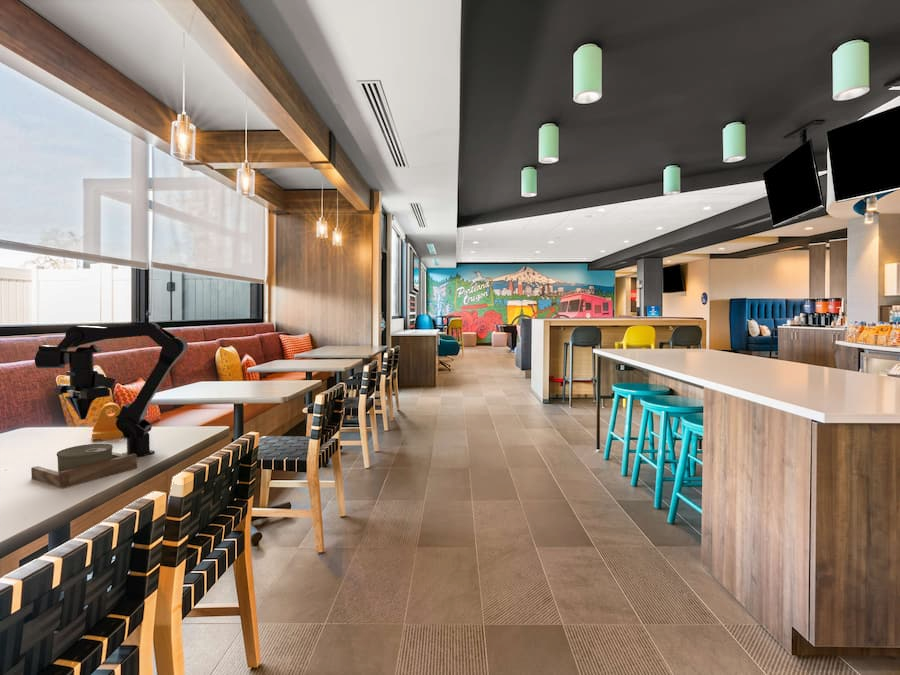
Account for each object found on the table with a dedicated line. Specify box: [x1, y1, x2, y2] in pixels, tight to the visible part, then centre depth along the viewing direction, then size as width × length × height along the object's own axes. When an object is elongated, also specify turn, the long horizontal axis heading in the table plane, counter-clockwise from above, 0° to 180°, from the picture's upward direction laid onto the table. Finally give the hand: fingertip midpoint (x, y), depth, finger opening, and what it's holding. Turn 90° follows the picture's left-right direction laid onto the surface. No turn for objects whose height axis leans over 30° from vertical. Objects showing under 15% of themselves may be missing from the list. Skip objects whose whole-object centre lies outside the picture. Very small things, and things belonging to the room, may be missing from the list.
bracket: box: [91, 402, 124, 441], centre depth 165 cm, size 11×7×12 cm, turn 126°
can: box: [56, 443, 114, 472], centre depth 126 cm, size 12×12×7 cm
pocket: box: [30, 451, 138, 489], centre depth 127 cm, size 15×18×4 cm
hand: (82, 419), depth 140 cm, fingers closed
